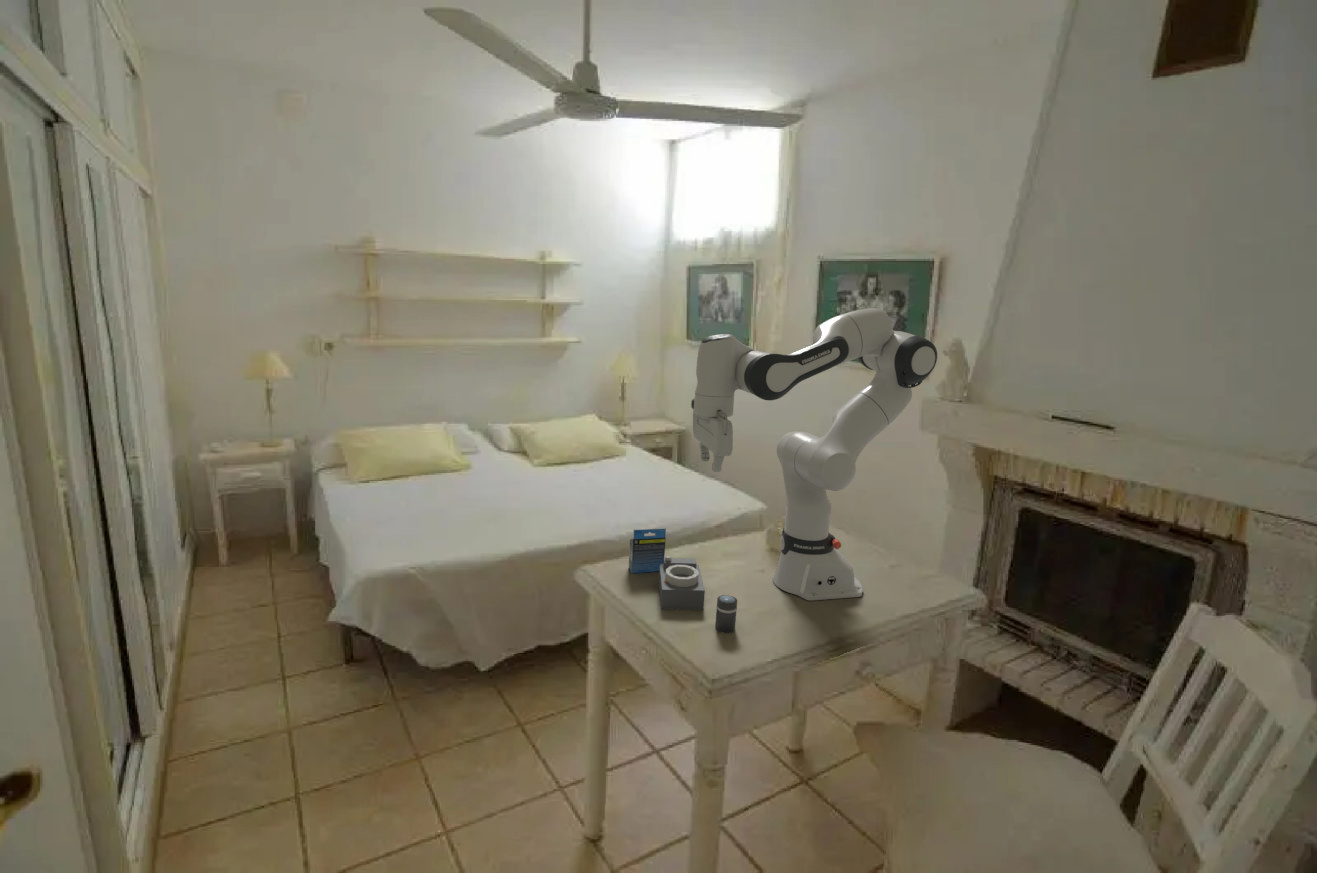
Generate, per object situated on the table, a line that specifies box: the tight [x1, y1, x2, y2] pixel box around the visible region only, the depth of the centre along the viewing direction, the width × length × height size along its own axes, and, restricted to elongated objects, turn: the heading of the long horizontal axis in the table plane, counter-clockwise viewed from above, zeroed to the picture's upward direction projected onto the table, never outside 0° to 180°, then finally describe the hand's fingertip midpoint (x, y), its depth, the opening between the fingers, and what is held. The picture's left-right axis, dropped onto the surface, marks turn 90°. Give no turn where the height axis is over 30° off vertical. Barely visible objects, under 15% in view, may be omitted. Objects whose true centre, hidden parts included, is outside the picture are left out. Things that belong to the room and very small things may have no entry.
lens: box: [714, 594, 738, 634], centre depth 147 cm, size 4×4×7 cm
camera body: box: [658, 555, 706, 611], centre depth 161 cm, size 10×14×8 cm
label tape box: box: [628, 528, 667, 574], centre depth 174 cm, size 9×4×12 cm, turn 105°
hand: (710, 465), depth 153 cm, fingers open, 8 cm apart
